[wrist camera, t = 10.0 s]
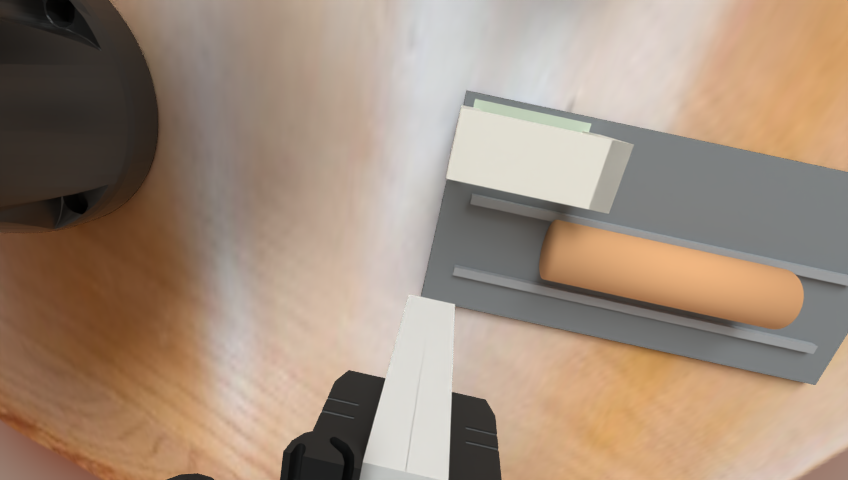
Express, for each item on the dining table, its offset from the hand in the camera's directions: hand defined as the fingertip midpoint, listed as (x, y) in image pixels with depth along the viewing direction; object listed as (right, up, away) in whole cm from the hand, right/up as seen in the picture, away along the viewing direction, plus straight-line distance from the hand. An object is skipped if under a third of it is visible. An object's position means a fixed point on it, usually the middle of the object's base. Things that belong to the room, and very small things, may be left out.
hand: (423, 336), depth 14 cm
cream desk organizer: (+5, +8, +8) cm, 13 cm away
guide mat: (+13, +3, +10) cm, 17 cm away
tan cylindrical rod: (+12, +1, +10) cm, 16 cm away
